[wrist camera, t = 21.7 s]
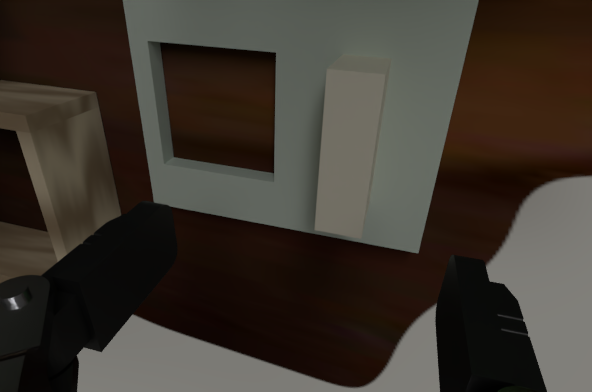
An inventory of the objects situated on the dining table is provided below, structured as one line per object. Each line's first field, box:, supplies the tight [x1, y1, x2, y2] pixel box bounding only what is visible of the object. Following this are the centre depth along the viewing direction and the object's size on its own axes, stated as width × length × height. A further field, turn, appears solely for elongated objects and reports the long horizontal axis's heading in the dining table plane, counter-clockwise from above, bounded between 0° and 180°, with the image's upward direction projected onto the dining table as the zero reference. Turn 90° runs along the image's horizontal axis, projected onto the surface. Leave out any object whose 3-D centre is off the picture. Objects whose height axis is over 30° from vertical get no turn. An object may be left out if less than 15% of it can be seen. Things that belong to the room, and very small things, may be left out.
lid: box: [123, 0, 479, 253], centre depth 21 cm, size 14×18×5 cm
